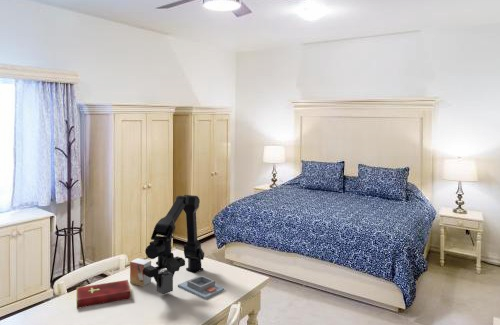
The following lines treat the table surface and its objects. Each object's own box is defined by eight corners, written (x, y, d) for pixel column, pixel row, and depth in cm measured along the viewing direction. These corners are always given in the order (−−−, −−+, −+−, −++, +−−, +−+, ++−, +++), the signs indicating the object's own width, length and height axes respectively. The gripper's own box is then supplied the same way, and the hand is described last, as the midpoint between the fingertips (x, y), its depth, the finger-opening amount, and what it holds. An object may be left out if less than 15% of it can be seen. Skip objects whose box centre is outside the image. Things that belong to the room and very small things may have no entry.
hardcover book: (131, 300, 159) (131, 290, 158) (76, 309, 150) (76, 299, 149) (127, 288, 170) (127, 279, 169) (76, 296, 161) (76, 286, 160)
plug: (156, 291, 162) (156, 270, 161) (165, 287, 166) (165, 267, 165) (163, 294, 159) (163, 274, 158) (172, 290, 163) (172, 270, 162)
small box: (129, 283, 173) (129, 261, 172) (137, 278, 179) (137, 257, 177) (144, 286, 170) (143, 264, 169) (151, 281, 176) (151, 260, 174)
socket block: (178, 286, 171) (178, 279, 171) (197, 278, 180) (197, 271, 180) (205, 299, 160) (205, 291, 159) (224, 290, 169) (224, 282, 168)
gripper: (157, 261, 148) (158, 299, 150) (193, 249, 163) (193, 284, 164) (141, 254, 155) (142, 290, 157) (177, 243, 170) (177, 276, 172)
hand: (164, 285), depth 162 cm, fingers closed on plug, 5 cm apart
